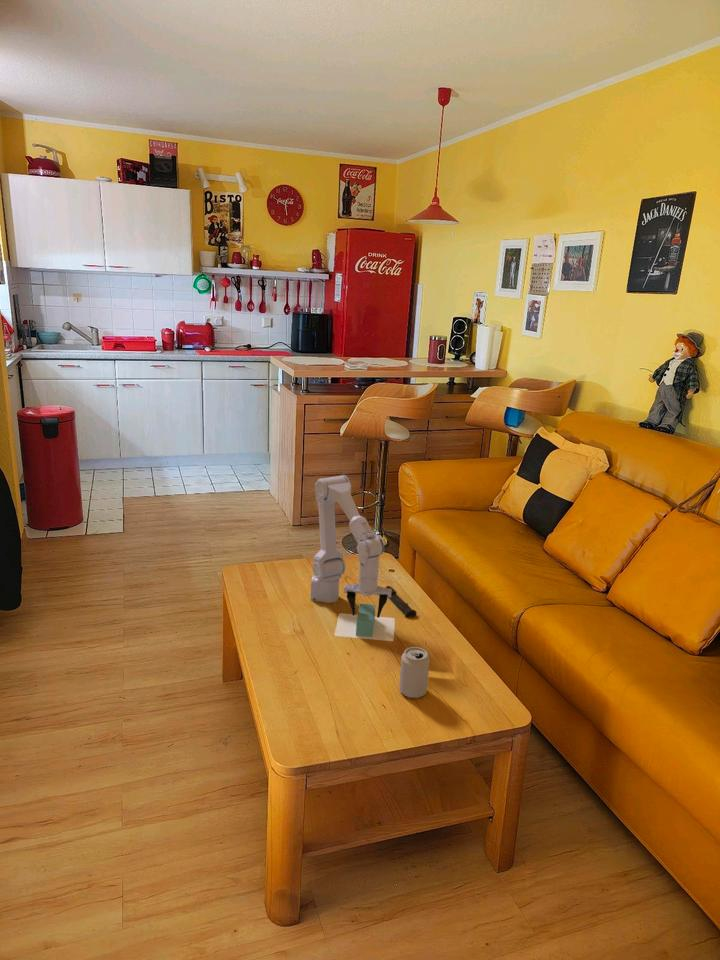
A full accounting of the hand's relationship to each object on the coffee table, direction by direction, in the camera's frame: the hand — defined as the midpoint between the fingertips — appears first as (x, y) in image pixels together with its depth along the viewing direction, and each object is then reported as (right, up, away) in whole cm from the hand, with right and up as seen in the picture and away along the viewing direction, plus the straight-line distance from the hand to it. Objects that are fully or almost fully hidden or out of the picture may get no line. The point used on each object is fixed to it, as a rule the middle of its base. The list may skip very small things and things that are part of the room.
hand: (366, 615), depth 204 cm
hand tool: (+10, -1, +17) cm, 20 cm away
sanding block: (0, -4, +1) cm, 4 cm away
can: (+12, -15, -27) cm, 33 cm away
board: (0, -5, +2) cm, 6 cm away
